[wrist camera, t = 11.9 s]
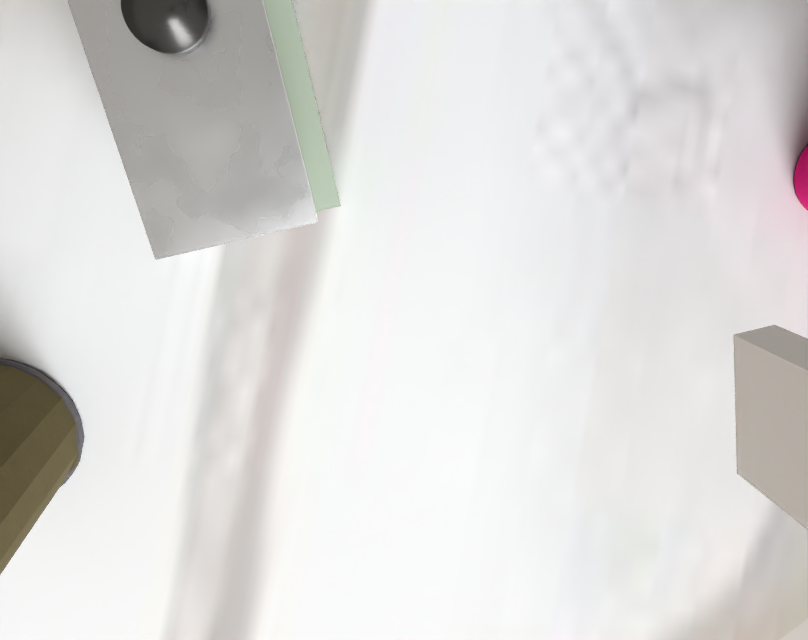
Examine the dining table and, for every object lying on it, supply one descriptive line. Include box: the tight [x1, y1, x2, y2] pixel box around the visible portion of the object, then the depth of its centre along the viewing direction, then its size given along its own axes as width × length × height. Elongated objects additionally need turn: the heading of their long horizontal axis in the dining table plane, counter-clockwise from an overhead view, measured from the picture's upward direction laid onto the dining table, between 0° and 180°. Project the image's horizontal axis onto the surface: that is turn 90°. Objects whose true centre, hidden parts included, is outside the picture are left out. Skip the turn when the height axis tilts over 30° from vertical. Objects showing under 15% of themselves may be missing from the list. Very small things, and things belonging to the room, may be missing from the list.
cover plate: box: [68, 0, 318, 260], centre depth 27 cm, size 11×7×5 cm, turn 12°
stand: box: [264, 0, 341, 211], centre depth 35 cm, size 10×13×6 cm
